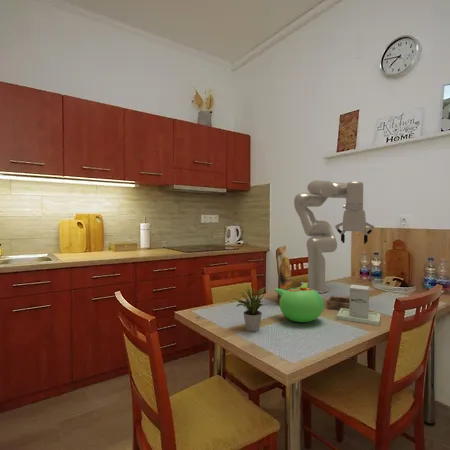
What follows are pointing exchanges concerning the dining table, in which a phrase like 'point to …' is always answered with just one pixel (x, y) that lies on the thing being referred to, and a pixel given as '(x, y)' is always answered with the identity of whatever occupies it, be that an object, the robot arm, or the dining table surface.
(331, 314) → the dining table surface
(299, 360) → the dining table surface
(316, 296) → the round teapot
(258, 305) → the house plant
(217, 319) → the dining table surface
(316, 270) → the robot arm
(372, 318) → the tray
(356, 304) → the supplement box
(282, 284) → the pancake mix bag
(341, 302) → the caddy
